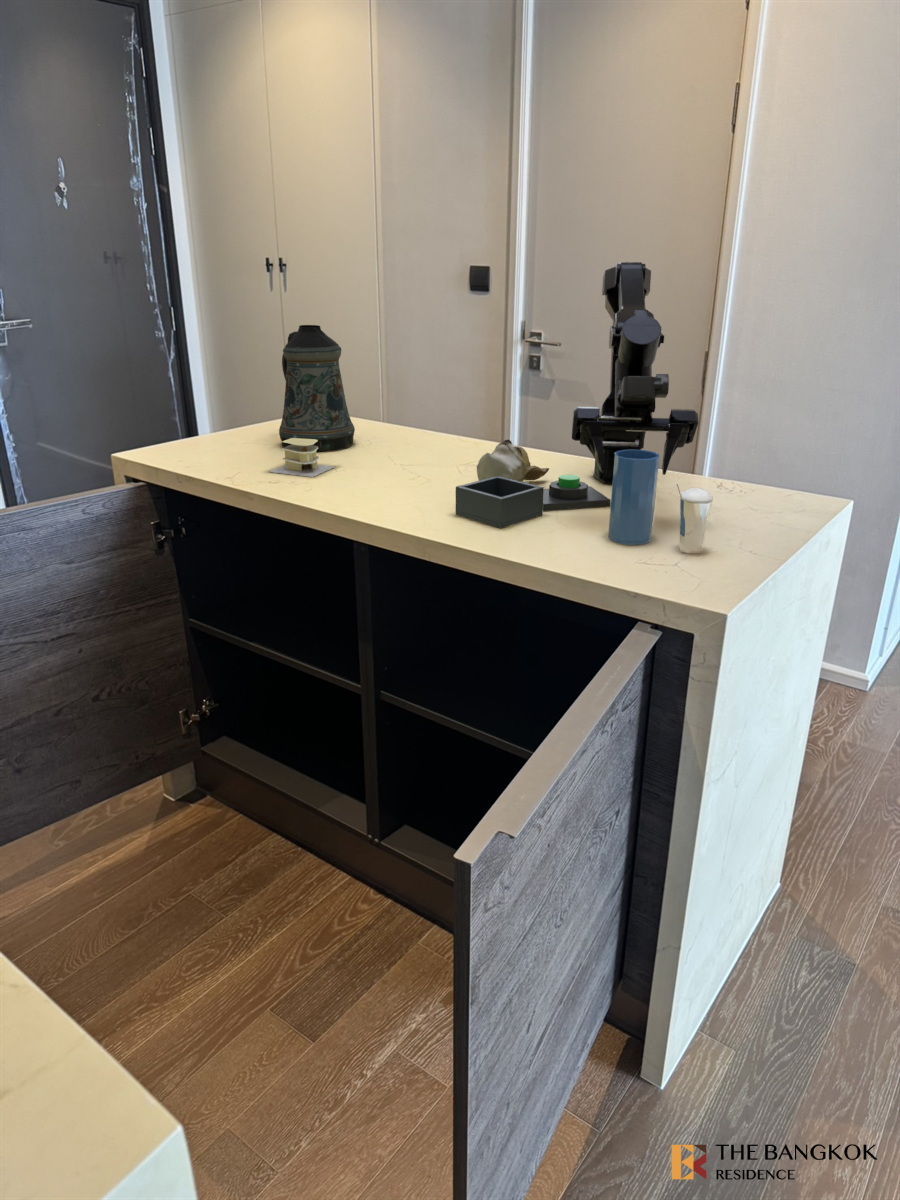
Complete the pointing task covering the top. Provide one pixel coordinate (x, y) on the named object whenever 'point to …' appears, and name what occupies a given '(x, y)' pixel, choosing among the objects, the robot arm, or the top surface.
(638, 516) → the cup
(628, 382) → the robot arm
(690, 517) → the milkshake
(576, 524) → the top surface
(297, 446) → the stacked layers on plate
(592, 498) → the panel
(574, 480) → the button
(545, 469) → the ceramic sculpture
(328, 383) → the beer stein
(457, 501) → the open square box
